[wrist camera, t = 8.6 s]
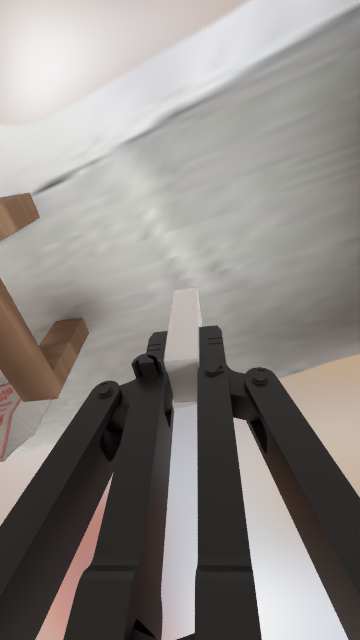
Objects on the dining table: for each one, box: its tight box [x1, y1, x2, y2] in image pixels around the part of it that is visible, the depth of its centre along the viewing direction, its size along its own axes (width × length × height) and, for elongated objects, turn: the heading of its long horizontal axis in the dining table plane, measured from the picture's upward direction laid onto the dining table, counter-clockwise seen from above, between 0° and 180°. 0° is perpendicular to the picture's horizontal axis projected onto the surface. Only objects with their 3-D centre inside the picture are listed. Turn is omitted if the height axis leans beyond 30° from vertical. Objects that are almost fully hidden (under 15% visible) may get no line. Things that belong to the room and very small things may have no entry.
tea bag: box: [0, 383, 52, 462], centre depth 32 cm, size 4×7×10 cm, turn 112°
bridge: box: [0, 193, 89, 402], centre depth 23 cm, size 3×14×9 cm, turn 9°
